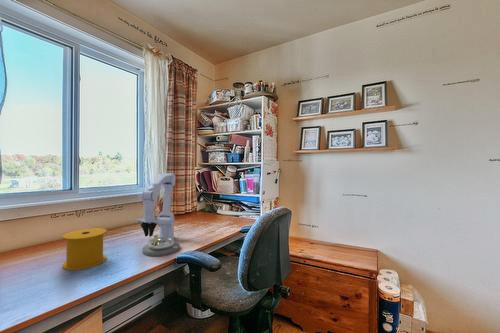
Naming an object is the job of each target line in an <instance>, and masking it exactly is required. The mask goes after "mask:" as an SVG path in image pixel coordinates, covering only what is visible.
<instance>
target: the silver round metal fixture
mask: <svg viewBox="0 0 500 333" xmlns="http://www.w3.org/2000/svg"><path fill="white" fill-rule="evenodd" d="M153 235H154V234H153ZM174 242H175V239H174V238H173V237H168V238H164V236H161V237H160V236H159V235H158V234H155V235H154V238H150V239H149V242H148V243H147V244H148V248H149V249H150V250H165V249H169V248H171V247H173V246H174Z"/></svg>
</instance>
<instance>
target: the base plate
mask: <svg viewBox="0 0 500 333" xmlns="http://www.w3.org/2000/svg"><path fill="white" fill-rule="evenodd" d="M178 249H179V250H180V243H179V242H177V241H174V246H173V247H171V248H169V249H165V250H150V249H149V248H148V243H147V244H145V245H144V246H142V253H141V254H143V255H144V256H147V257H155V258H156V257H163V256H164V255H165V256H169V255H172V253H173V254H174V252H175V253H176V251H177V250H178ZM179 250H178V251H179ZM178 251H177V252H178ZM168 254H169V255H168ZM165 256H164V257H165Z"/></svg>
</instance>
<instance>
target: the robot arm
mask: <svg viewBox="0 0 500 333" xmlns="http://www.w3.org/2000/svg"><path fill="white" fill-rule="evenodd" d="M175 185H176V175H175V173H174V172H172V173H171V172H168V173H167V172H159V174H158V176H157V180H156V181H155V182H152V184H151V185H150V186H149V187H148V188H147V189H146V190H144V191H142V193H141V200H142V204H143V218H136V219H135V223H136V224H138V223H139V224H140V227H141V228H142V231H143V233H144V234H143V235H144V237H152V236H153V235H154V231H155V229H156V228H157V226H158V228H159V237H161V236H164V238H168V237H173V239H175V238H176V237H175V236H174V234H175V233H174V231H175V229H174V226H173V225H174V223H175V214H174V213H173V212H172V211H171V206H172V197H173V196H172V194H173V187H175ZM162 187H163V188H164V191H163V192H164V193H163V201H162V202H163V203H162V211H160V213H158V216H157V218H155V217H156V215H155V214H156V213H155V205H156V200H157V198H158V193H160V191H161V189H162Z"/></svg>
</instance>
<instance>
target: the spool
mask: <svg viewBox="0 0 500 333" xmlns="http://www.w3.org/2000/svg"><path fill="white" fill-rule="evenodd" d="M107 232H108V231H107V229H106V228H101V227H99V228H96V227H95V228H84V229H83V228H82V229H76V230H74V231H70V232H67V233H66V232H65V233H64V234H63V235H62V239H63V240H65V241H66V255H65V256H66V261H65V262H63V263H62V265H61V266H62V269H63V270H65V271H79V270H85V269H90V268H94V267H96V266H97V267H98V266H99V265H101V264H103V263H105V262H106V260H107V255H105V254H104V235H105V234H107Z"/></svg>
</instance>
